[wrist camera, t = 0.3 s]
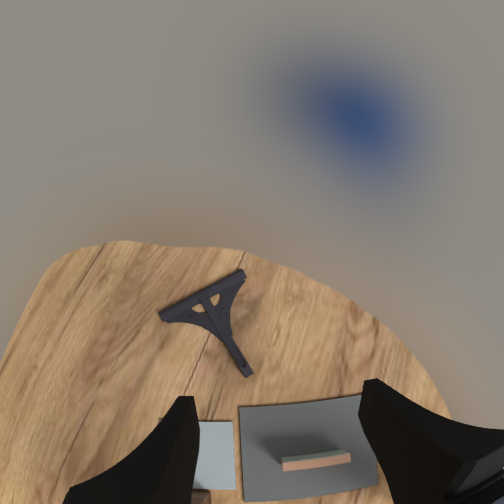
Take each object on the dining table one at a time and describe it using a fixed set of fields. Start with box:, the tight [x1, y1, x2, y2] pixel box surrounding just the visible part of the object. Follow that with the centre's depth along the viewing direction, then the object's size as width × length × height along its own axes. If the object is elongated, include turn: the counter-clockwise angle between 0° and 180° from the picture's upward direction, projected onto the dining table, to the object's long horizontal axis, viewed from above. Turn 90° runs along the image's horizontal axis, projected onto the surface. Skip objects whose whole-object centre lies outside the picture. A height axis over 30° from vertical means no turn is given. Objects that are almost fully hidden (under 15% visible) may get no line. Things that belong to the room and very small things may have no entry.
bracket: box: [159, 269, 253, 378], centre depth 42 cm, size 14×15×3 cm
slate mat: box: [239, 395, 378, 502], centre depth 33 cm, size 14×18×1 cm
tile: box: [281, 450, 351, 471], centre depth 31 cm, size 1×8×5 cm, turn 93°
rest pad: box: [160, 420, 236, 490], centre depth 34 cm, size 10×10×1 cm
